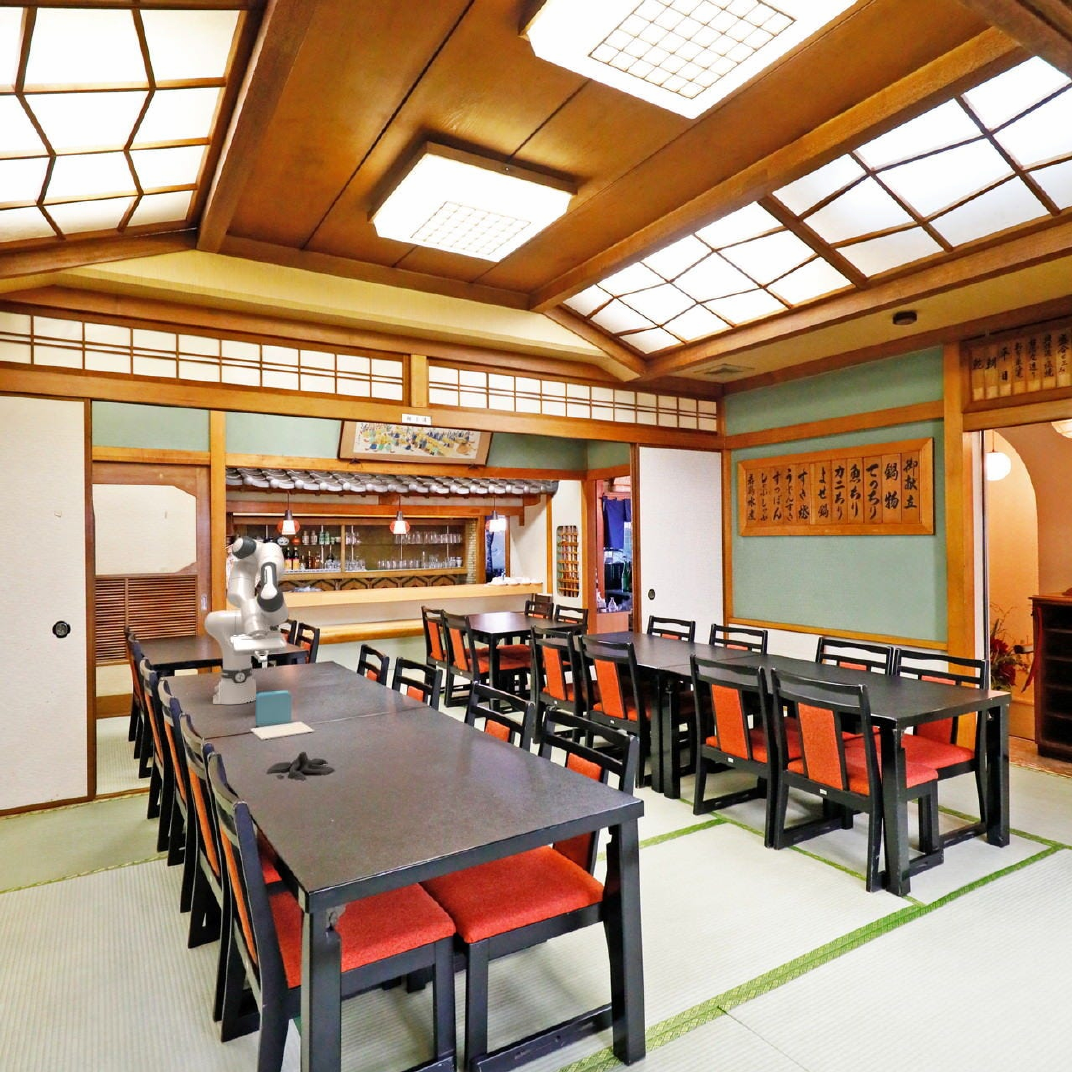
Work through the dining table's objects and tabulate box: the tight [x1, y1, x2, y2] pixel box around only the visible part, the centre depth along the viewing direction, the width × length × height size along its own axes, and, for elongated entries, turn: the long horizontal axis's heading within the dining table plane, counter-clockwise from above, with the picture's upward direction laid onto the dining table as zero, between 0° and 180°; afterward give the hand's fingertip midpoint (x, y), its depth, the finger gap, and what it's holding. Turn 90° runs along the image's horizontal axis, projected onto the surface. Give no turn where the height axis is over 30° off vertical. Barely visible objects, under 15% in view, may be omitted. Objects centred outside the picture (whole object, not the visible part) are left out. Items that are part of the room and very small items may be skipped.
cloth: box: [265, 751, 336, 782], centre depth 203 cm, size 22×19×6 cm
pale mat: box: [249, 721, 315, 741], centre depth 248 cm, size 16×18×1 cm
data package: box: [254, 689, 292, 728], centre depth 257 cm, size 12×4×12 cm, turn 118°
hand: (263, 661), depth 270 cm, fingers closed
